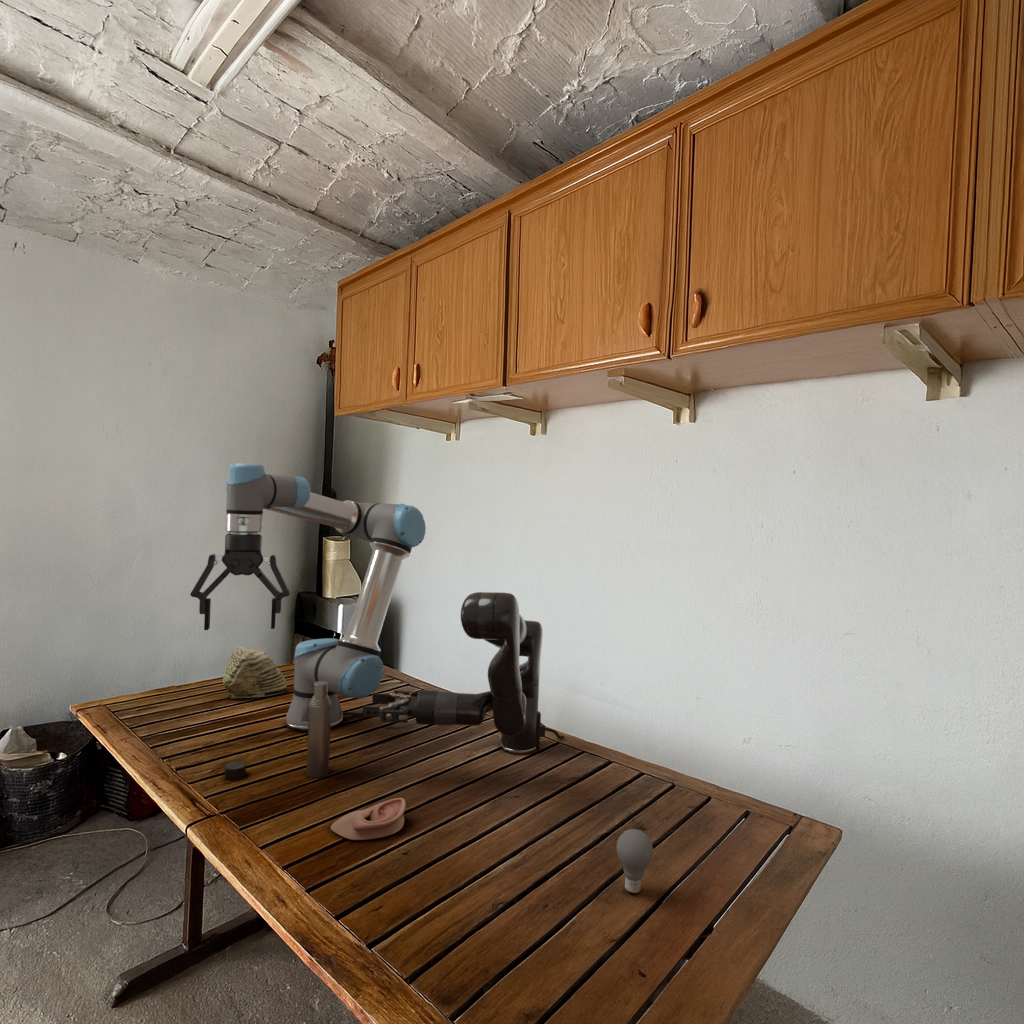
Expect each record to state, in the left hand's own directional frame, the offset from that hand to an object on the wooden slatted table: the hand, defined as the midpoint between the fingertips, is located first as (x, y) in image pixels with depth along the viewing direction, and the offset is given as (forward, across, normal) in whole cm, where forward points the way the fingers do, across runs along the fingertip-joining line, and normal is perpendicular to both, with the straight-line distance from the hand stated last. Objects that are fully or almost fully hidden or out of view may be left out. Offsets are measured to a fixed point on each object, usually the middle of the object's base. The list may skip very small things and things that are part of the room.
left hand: (240, 628), depth 141 cm
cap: (+31, 0, 0) cm, 31 cm away
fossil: (+33, 0, +59) cm, 68 cm away
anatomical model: (+33, +27, -29) cm, 51 cm away
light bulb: (+33, +67, -60) cm, 96 cm away
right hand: (+17, +28, -5) cm, 33 cm away
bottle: (+33, +18, -2) cm, 38 cm away
